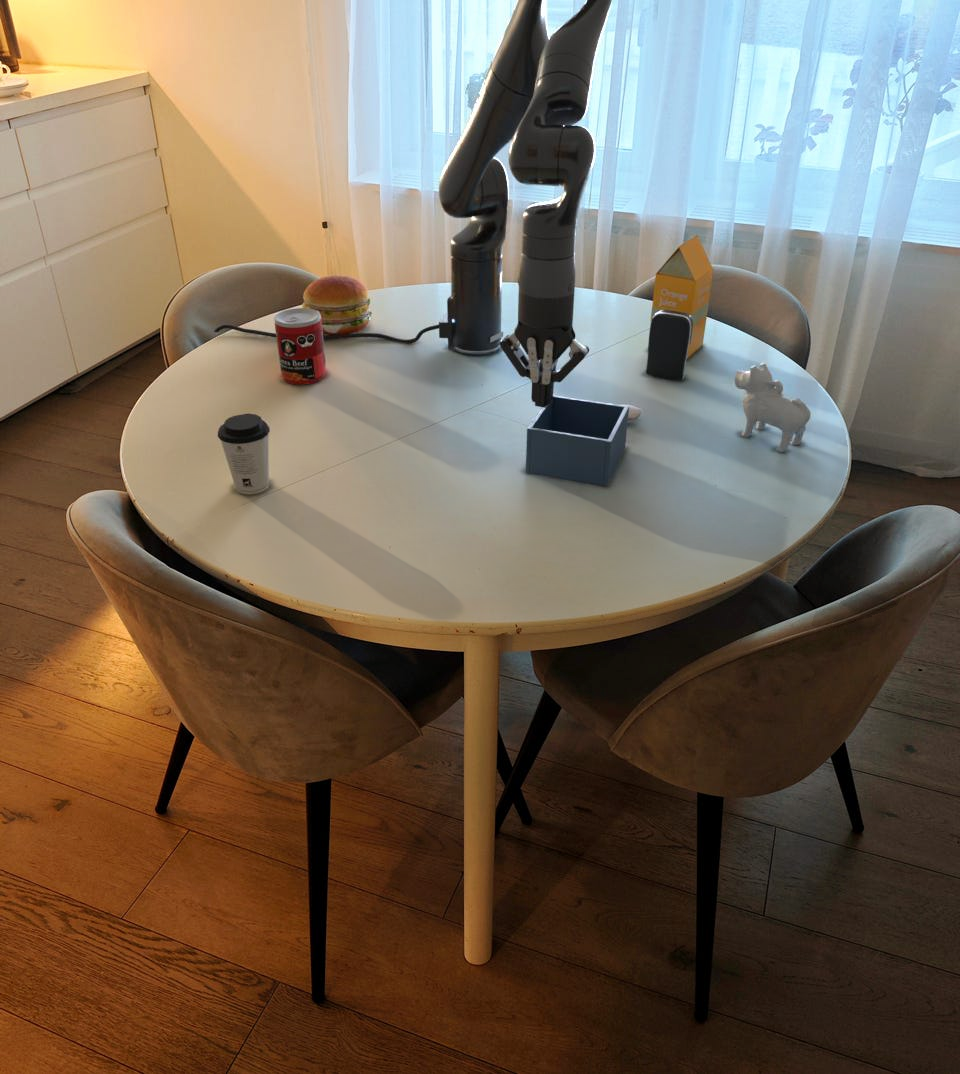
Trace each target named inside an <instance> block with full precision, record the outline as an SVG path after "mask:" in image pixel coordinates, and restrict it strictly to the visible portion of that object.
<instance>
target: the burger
mask: <svg viewBox="0 0 960 1074" xmlns="http://www.w3.org/2000/svg"><path fill="white" fill-rule="evenodd" d="M369 293H370V292H369V290H368V288H367V287H366V285H364V284H363V283H362V282H361V281H359V280H357V279H356V278H354V277H351V276H347V275H339V274H338V275H334V274H333V275H327V276H323V277H321V278H318V279H315V280H314V281H312V282H311V283H310V284H309V285H307V287H306V288H305V290H304V292H303V295H302V296H303V298H302V299H303V302H302V304H301V306H302V308H307V309H313V310H316V311H318V312H319V313H320V316H321V322H322V331H323V335H341V334H355V333H359V332H360V331H363V330H364V329H365V328H367V326H368V324H369V323H370V322H371V317H372V314H373V313H372V311H371V310H370V305H371V298H370V294H369Z"/></svg>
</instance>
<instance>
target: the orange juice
mask: <svg viewBox="0 0 960 1074" xmlns="http://www.w3.org/2000/svg"><path fill="white" fill-rule="evenodd" d="M714 270H715V269H714V268H713V266H712V263H711V261H710V260H709V257H708V255H707V253H706V250H705V249H704V246H703V244H702V242H701V240H700V238H699V236H698V234H697V235H695V236H693V237H692V238H690V239H689V240H687V241H685V242H683V243H682V244H681V245H679V246H678V247H677V248H676V250H675V251H674V252H673V253H672V254H671V255H670V257H668V259H667V260H666V261H665V262H664V264H663V265H662V266H661V267H660V268H659V269H658V270H657V272H656V273H655V274H654V275H655V279H654V287H653V297H652V306H651V313H650V321H651V320H652V317H653V316H654V315H655V314H656V313H657V312H659V311H660V310H671V311H678V312H684V313H687V314H689V315H691V317H692V319H693V329H692V337H691V343H690V344H689V349H688V354H687V359H689V358H690V357H691V356H692V355H693V354H694V353H695V352H696V351H698V350H699V349H700V348H701V347H702V346H703V345H704V340H705V339H704V337H705V331H706V326H707V325H706V324H707V317H708V312H709V306H710V305H709V304H710V296H711V288H712V283H713V275H714ZM650 325H651V323H650Z"/></svg>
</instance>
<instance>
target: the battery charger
mask: <svg viewBox="0 0 960 1074" xmlns="http://www.w3.org/2000/svg"><path fill="white" fill-rule="evenodd" d="M650 324H651V325H650V326H649V332H648V333H649V334H648V343H647V360H646V369H645V374H646V375H649V376H652V377H657V378H662V379H669V380H677V381H683V380H684V378H685V374H686V365H687V359H688V358H687V354H688V349H689V344H690V343H691V337H692V329H693V319H692V317H691V315H689V314H687V313H684V312H678V311H671V310H660V311H659V312H657V313H656V314H655V315H654V316H653V317H652V320H651V319H650Z"/></svg>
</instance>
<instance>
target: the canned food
mask: <svg viewBox="0 0 960 1074" xmlns="http://www.w3.org/2000/svg"><path fill="white" fill-rule="evenodd" d="M273 319H274V320H273V321H274V330H275V333H276V337H275V339H276V345H277V353H278V357H279V358H278V359H279V366H280V374H281V377H282V379H283V381H285V382H286V383H288V384H291V385H297V386H298V385H301V386H302V385H309V384H310V385H311V384H315V383H318V382H320V381H322V380H323V379H324V378H325V376H326V374H327V364H326V353H325V343H324V342H325V341H324V339H323V335H324V334H323V331H322V322H321V316H320V313H319V312H318V311H316V310H313V309H307V308H303V307H297V308H290V309H286V310H283V311H280V312H278V313H277V314H275V315H274V318H273Z"/></svg>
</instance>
